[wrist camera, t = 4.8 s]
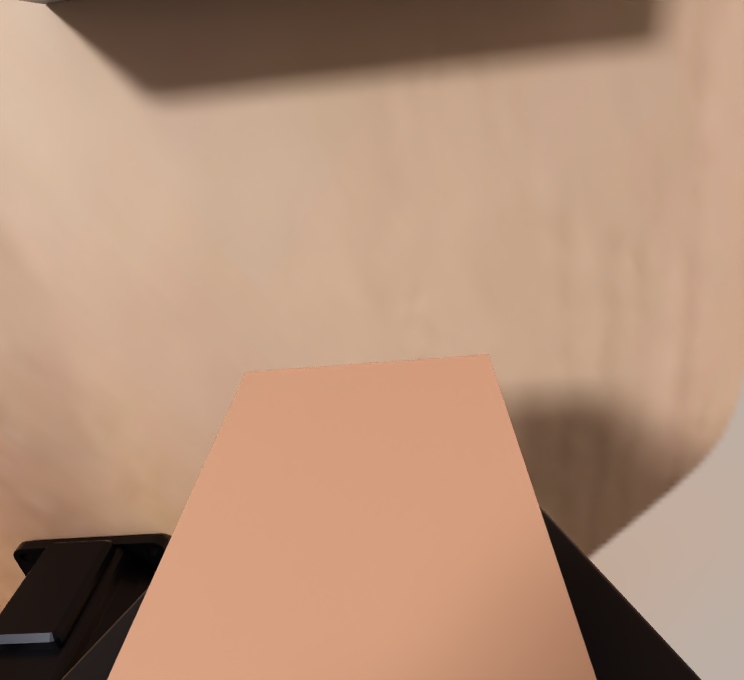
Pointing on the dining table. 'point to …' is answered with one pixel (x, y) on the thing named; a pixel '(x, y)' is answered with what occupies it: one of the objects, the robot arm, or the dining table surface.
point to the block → (360, 539)
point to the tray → (44, 1)
